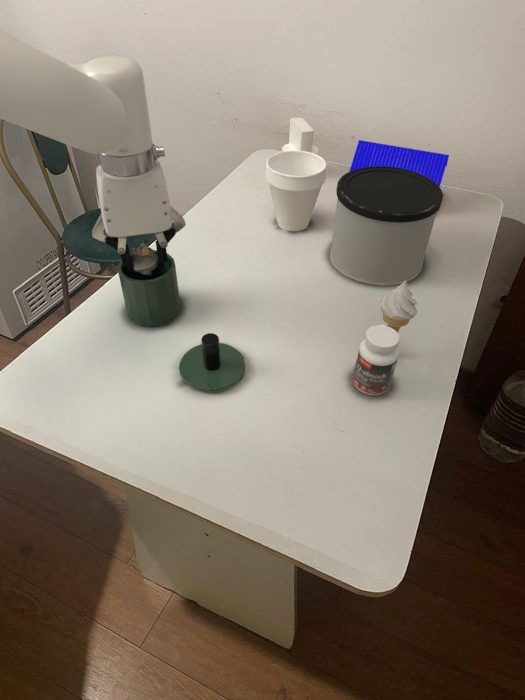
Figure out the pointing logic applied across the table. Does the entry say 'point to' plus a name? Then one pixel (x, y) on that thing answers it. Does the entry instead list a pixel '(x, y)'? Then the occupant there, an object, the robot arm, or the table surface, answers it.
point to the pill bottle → (376, 360)
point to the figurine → (144, 259)
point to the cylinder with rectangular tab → (300, 136)
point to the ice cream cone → (398, 307)
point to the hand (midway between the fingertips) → (145, 266)
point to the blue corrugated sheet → (400, 159)
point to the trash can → (151, 294)
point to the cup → (295, 186)
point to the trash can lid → (212, 365)
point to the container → (383, 224)
